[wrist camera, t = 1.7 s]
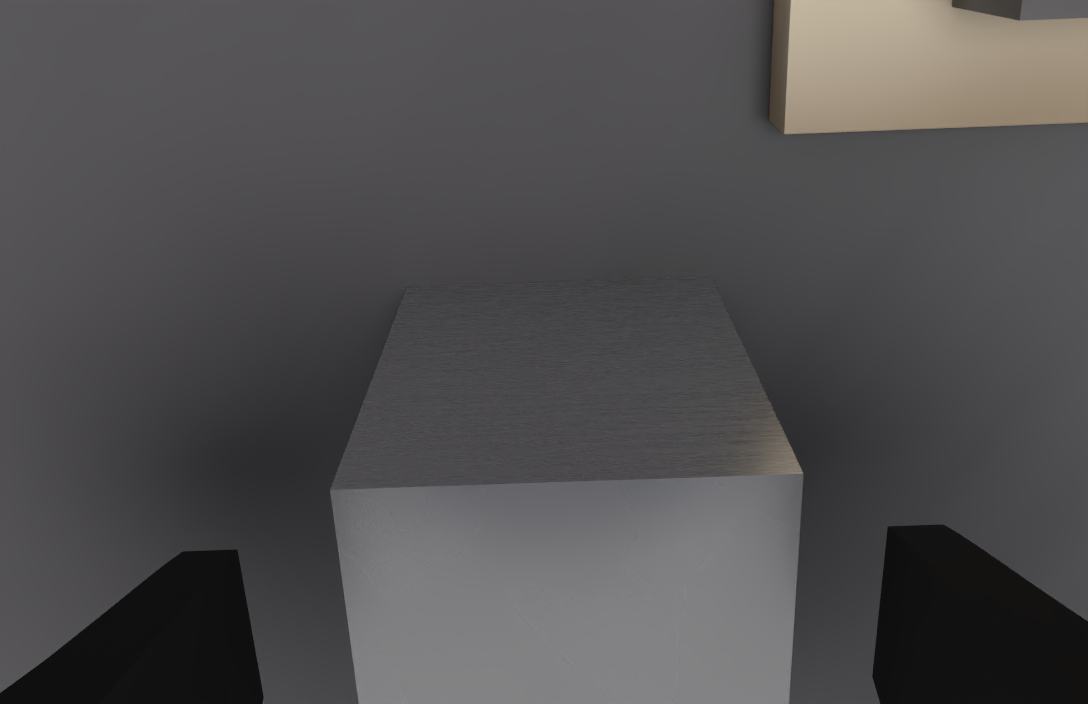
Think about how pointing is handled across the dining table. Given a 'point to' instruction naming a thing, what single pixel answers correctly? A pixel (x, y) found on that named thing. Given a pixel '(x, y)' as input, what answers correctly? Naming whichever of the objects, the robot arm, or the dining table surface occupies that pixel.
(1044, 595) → the robot arm
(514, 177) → the dining table surface
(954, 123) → the rail
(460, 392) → the block
